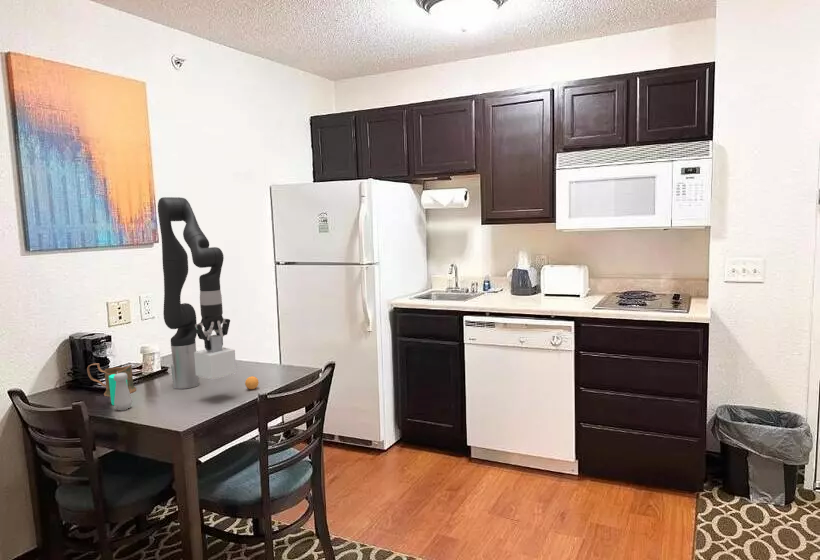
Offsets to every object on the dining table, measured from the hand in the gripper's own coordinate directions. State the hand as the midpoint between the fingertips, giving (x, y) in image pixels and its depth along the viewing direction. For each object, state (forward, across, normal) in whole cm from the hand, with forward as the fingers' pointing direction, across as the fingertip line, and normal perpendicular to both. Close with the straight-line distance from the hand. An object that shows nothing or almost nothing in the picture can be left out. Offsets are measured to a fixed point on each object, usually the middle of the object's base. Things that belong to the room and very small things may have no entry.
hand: (214, 348), depth 208 cm
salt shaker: (+20, -25, +21) cm, 38 cm away
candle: (+20, -22, +29) cm, 41 cm away
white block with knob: (+10, 0, 0) cm, 10 cm away
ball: (+16, +14, -2) cm, 22 cm away
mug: (+20, -17, +45) cm, 53 cm away
